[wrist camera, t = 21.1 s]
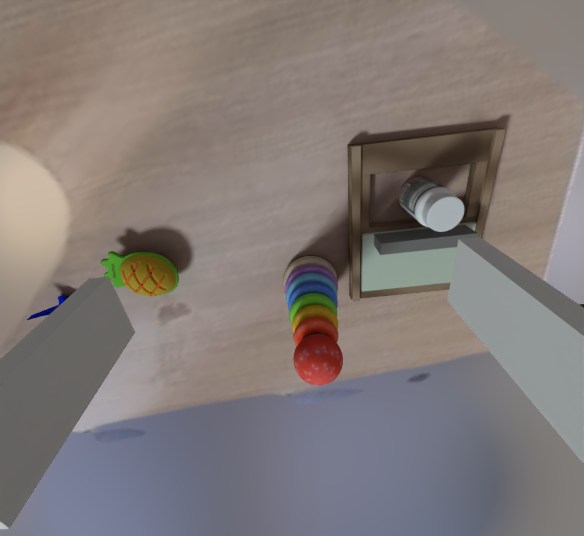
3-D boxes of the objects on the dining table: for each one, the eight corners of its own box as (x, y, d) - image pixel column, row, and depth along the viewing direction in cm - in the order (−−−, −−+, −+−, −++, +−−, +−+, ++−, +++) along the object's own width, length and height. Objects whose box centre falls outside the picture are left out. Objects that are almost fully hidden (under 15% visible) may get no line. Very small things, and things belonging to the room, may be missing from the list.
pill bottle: (439, 199, 40) (474, 221, 32) (405, 217, 41) (432, 243, 33) (426, 168, 38) (461, 184, 30) (392, 188, 39) (417, 208, 31)
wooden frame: (347, 145, 36) (350, 146, 34) (498, 127, 35) (507, 128, 34) (349, 294, 47) (351, 301, 45) (465, 282, 46) (471, 289, 45)
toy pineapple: (184, 287, 45) (173, 309, 40) (115, 279, 44) (95, 301, 39) (183, 247, 42) (171, 265, 37) (109, 237, 41) (86, 255, 36)
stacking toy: (307, 243, 42) (324, 332, 26) (346, 274, 45) (383, 373, 28) (272, 279, 45) (267, 381, 29) (311, 307, 48) (326, 414, 31)
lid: (361, 233, 40) (368, 244, 37) (473, 221, 40) (490, 231, 37) (361, 289, 44) (367, 303, 41) (462, 278, 44) (476, 292, 41)
